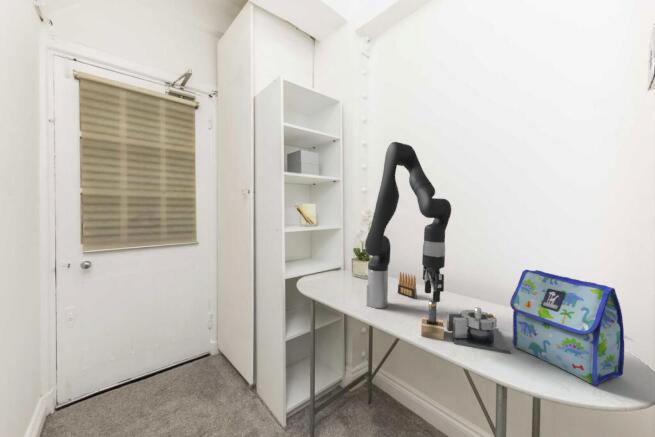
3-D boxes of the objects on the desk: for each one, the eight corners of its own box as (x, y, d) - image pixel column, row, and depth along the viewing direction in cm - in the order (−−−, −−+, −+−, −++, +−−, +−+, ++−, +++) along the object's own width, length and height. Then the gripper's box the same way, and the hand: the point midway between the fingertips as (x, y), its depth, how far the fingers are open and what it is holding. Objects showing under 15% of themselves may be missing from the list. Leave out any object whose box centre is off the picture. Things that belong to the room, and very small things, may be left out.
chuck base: (454, 343, 88) (455, 313, 87) (450, 323, 103) (451, 298, 102) (510, 353, 82) (511, 321, 81) (497, 331, 97) (498, 303, 96)
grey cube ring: (444, 326, 98) (444, 308, 97) (483, 326, 98) (483, 308, 97) (458, 341, 87) (458, 321, 86) (502, 341, 87) (503, 321, 86)
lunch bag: (504, 348, 85) (507, 270, 84) (537, 338, 91) (540, 266, 90) (593, 393, 65) (598, 291, 63) (627, 377, 71) (632, 284, 69)
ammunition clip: (416, 298, 131) (417, 275, 130) (414, 299, 130) (414, 275, 129) (399, 292, 140) (400, 270, 139) (397, 293, 139) (397, 271, 138)
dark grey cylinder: (427, 331, 96) (427, 300, 96) (434, 331, 96) (435, 300, 96) (429, 335, 94) (430, 302, 93) (437, 335, 94) (437, 302, 93)
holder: (421, 336, 93) (421, 325, 93) (421, 327, 100) (422, 317, 100) (443, 340, 90) (443, 328, 90) (442, 330, 97) (442, 320, 97)
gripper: (417, 249, 101) (415, 290, 102) (430, 257, 86) (428, 304, 87) (436, 250, 100) (434, 290, 101) (452, 257, 86) (450, 305, 87)
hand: (431, 297), depth 94 cm, fingers open, 8 cm apart
